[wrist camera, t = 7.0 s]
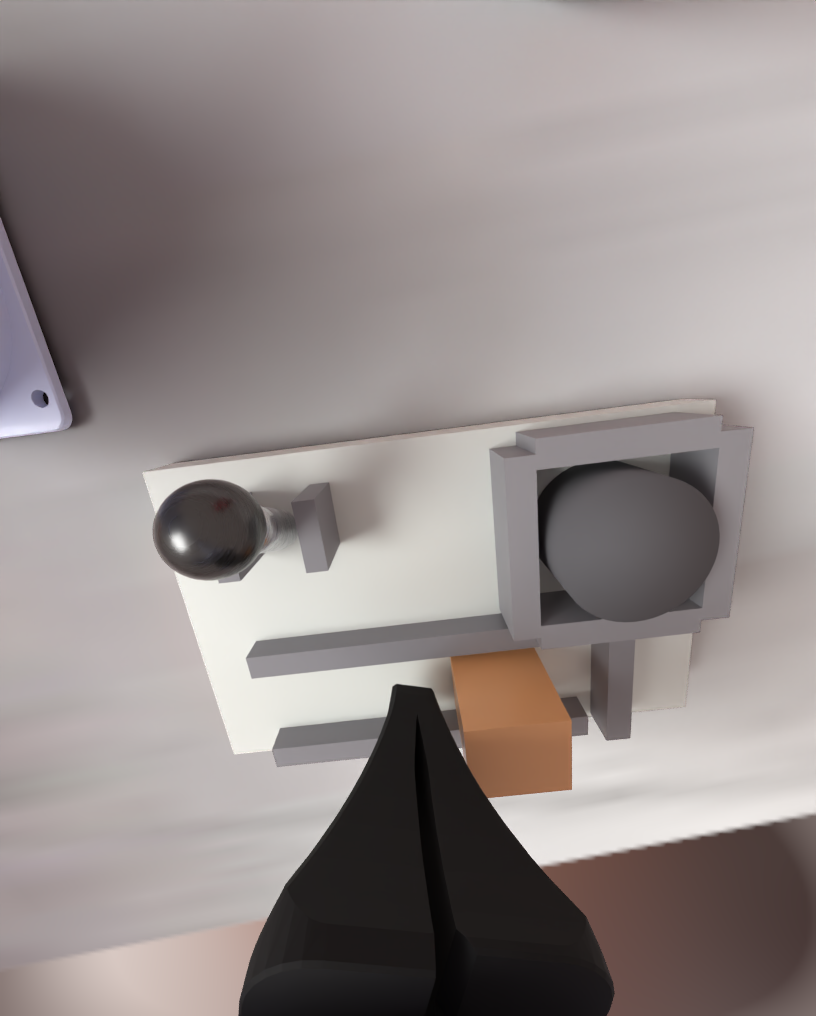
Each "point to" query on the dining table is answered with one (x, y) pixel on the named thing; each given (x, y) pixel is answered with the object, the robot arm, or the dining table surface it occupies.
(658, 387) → the dining table surface
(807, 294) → the dining table surface
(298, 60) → the dining table surface
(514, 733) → the orange flat-faced block
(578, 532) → the button
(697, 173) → the dining table surface
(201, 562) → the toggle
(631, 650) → the panel
